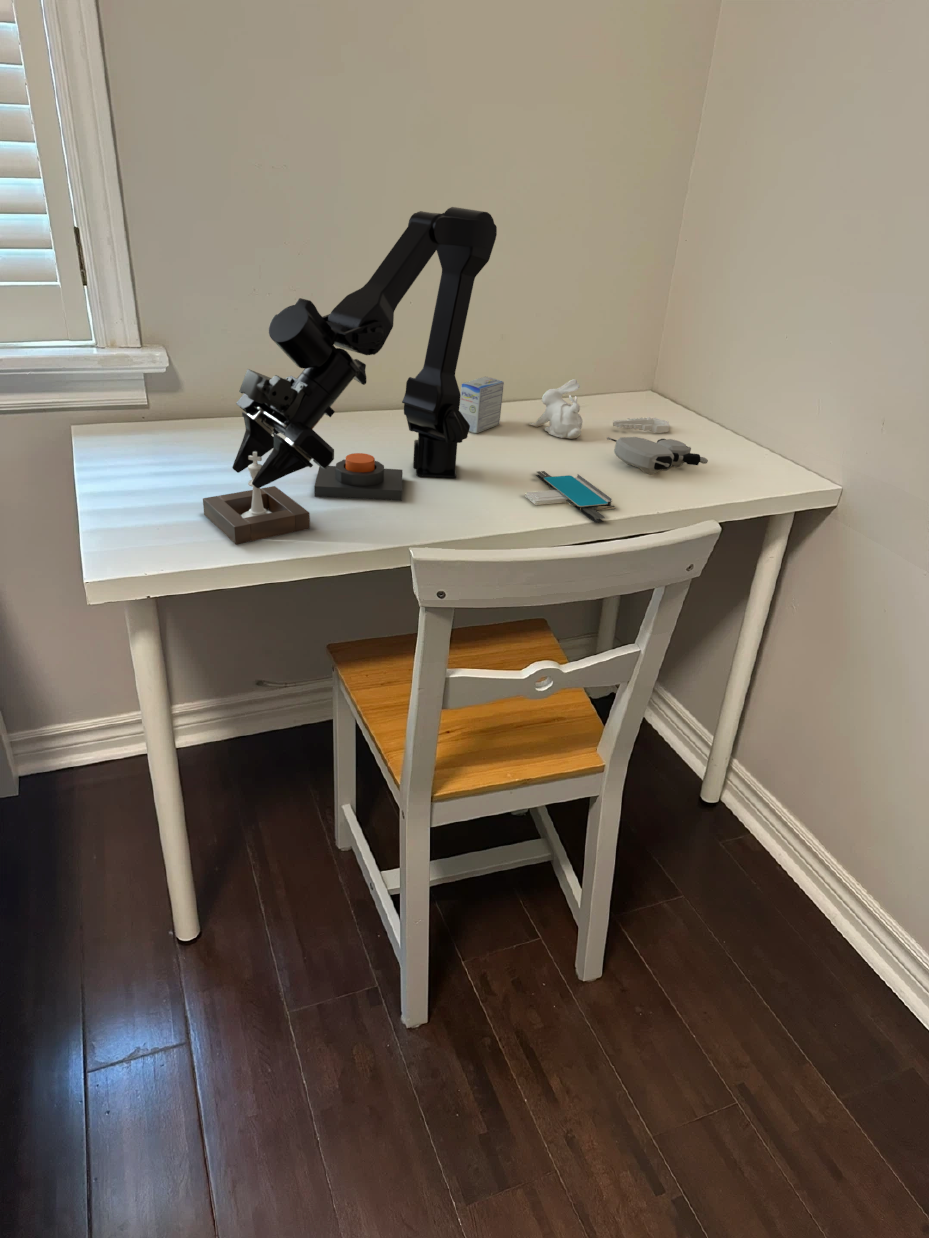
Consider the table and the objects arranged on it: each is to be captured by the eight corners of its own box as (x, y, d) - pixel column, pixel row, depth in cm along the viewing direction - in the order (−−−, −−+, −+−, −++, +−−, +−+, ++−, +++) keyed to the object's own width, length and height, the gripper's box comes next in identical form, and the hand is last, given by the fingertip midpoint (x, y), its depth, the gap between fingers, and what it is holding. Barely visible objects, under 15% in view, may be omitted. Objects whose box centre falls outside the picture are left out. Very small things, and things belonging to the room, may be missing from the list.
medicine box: (481, 420, 168) (485, 375, 163) (500, 425, 166) (504, 380, 161) (457, 428, 162) (460, 382, 158) (476, 434, 160) (480, 388, 156)
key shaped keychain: (622, 436, 166) (623, 427, 165) (608, 428, 170) (610, 419, 169) (677, 432, 171) (679, 423, 170) (663, 424, 175) (664, 416, 174)
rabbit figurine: (527, 424, 168) (533, 374, 163) (558, 420, 171) (564, 372, 167) (565, 443, 159) (573, 391, 154) (596, 439, 163) (604, 388, 158)
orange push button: (375, 464, 133) (375, 453, 132) (374, 474, 129) (374, 463, 129) (346, 463, 133) (346, 452, 132) (344, 473, 129) (344, 462, 128)
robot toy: (661, 455, 160) (599, 458, 152) (667, 431, 158) (604, 433, 150) (708, 477, 151) (645, 482, 144) (715, 453, 149) (651, 456, 141)
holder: (275, 501, 126) (274, 485, 124) (310, 529, 118) (309, 512, 117) (203, 515, 120) (202, 498, 118) (235, 544, 112) (234, 527, 111)
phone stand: (503, 478, 141) (504, 468, 140) (566, 473, 146) (568, 463, 145) (560, 527, 125) (561, 516, 125) (629, 519, 130) (631, 509, 129)
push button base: (402, 479, 137) (402, 458, 135) (401, 501, 129) (402, 479, 128) (319, 475, 136) (319, 454, 134) (314, 497, 128) (314, 474, 126)
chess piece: (267, 531, 117) (264, 460, 112) (233, 525, 117) (229, 455, 112) (281, 517, 121) (279, 449, 116) (248, 512, 122) (245, 444, 117)
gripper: (246, 331, 116) (173, 421, 115) (311, 365, 103) (229, 466, 103) (300, 384, 124) (232, 468, 124) (367, 421, 111) (291, 515, 111)
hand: (244, 478), depth 115 cm, fingers open, 6 cm apart
